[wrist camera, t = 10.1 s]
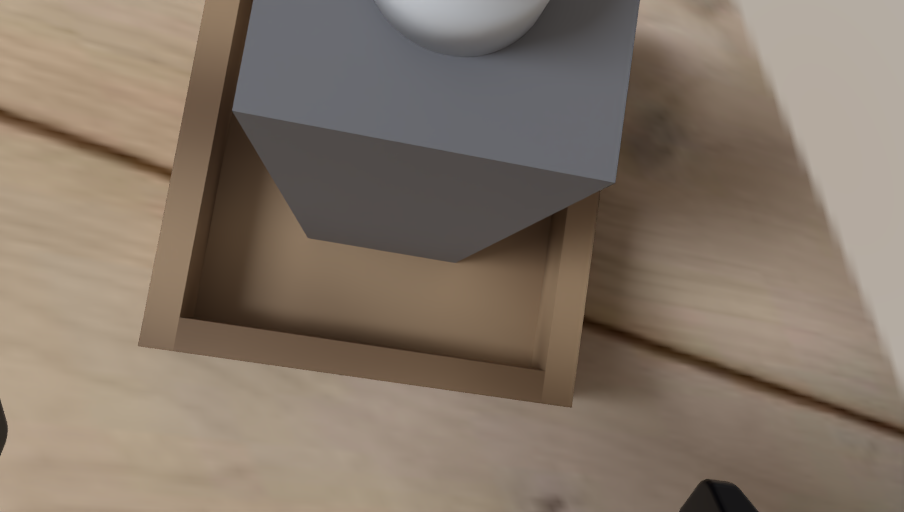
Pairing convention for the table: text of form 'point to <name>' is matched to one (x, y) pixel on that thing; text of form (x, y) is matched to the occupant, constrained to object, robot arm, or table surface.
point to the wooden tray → (348, 271)
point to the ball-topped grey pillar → (435, 114)
